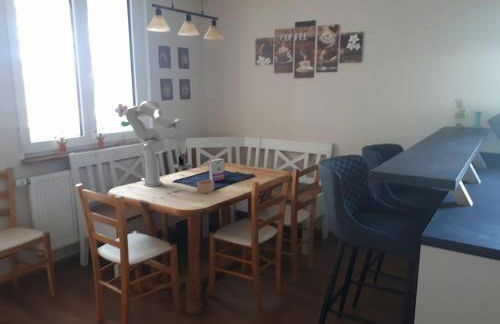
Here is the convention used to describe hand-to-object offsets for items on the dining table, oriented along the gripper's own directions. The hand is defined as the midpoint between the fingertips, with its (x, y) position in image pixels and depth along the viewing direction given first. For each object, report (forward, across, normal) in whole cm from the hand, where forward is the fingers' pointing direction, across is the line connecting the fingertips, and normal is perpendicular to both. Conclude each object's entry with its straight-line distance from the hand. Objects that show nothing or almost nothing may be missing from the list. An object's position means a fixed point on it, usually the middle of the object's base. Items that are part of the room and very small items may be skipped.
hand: (182, 163), depth 274 cm
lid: (+2, 0, 0) cm, 2 cm away
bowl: (+19, +1, +16) cm, 25 cm away
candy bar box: (+19, -26, +18) cm, 37 cm away
